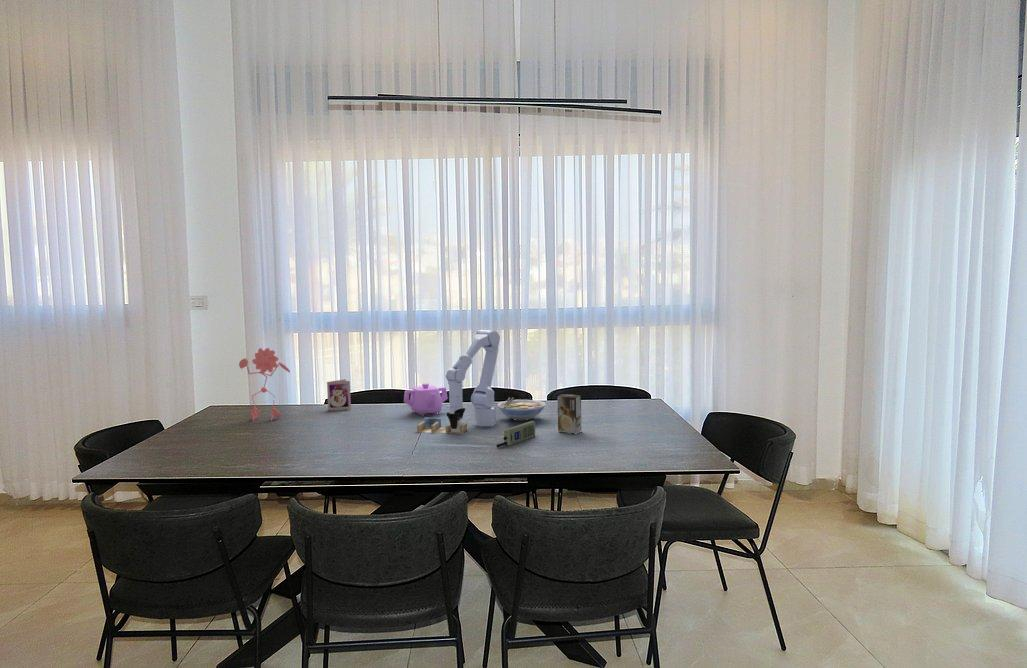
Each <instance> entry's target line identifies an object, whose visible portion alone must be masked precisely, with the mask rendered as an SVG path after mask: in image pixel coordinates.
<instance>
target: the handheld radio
mask: <svg viewBox="0 0 1027 668" xmlns="http://www.w3.org/2000/svg"><path fill="white" fill-rule="evenodd" d="M502 431H503V442H501V443H498V444H496V449H497V448H498V449H499V448H501V447H505V446H506V445H510V446H512V445H511V444H513V445H515V444H518V443H520V442H519V441H521V442H523V441H522V440H524V441H525V439H526V440H528V439H527V438H529V439H531V438H530V437H532V436H535V437H536V422H535V420H531V421H527V422H524V423H521V424H518V425H514V426H512V427H508V428H506V429H502ZM532 438H533V437H532ZM517 442H518V443H517ZM514 443H515V444H514Z"/></svg>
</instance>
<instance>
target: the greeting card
mask: <svg viewBox="0 0 1027 668" xmlns="http://www.w3.org/2000/svg"><path fill="white" fill-rule="evenodd" d="M346 379H347V378H346ZM346 379H339V380H337V379H336V380H331V381H326V390H327V391H326V393H327V411H329V410H330V411H343V410H345V409H347V410H351V409H352V407H351V406H352V405H351V404H352V403H351V380H346ZM330 411H329V412H330ZM345 411H346V410H345Z"/></svg>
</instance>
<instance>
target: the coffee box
mask: <svg viewBox="0 0 1027 668" xmlns="http://www.w3.org/2000/svg"><path fill="white" fill-rule="evenodd" d="M556 398H557V403H556V404H557V432H558V431H559V432H558V433H560V432H568V433H567V434H571V433H578V432H580V431H581V430H582V429H583V428H582V395H579V394H567V393H562V394H559V395H558V396H557V397H556ZM582 431H583V430H582ZM582 431H581V432H582ZM581 432H580V433H581ZM578 434H579V433H578Z"/></svg>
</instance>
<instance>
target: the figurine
mask: <svg viewBox="0 0 1027 668" xmlns="http://www.w3.org/2000/svg"><path fill="white" fill-rule="evenodd" d="M270 349H271V348H269V347H266V348H265V349H264V350H263V348H262V347H259V348H258V350H257V352H255V353H254V358H253V359H252V360H251V361H252V363H253V364H254V365H255V369H256V370H260V371H257V372H250V370H249V365H248V364H249V361H248V359H247V358H246V357H245V358H242V359H241V360H240V361H239V363H238V366H239V369H240V370H242V369H244V368H245V367H246V369H247V370H246V371H247V373H248V375H254V374H261V375H263V376H264V377H265V380H264V384H263V385H264V386H262V387H261V389H260V391H258V392H256V393H255V394H253V395H251V399H252V403H253V408H252V409H251V411H250V414H251V417H252V422H254V421H255V420H256V418H258V417H259V416H260V415H259V414H260V410H259V408H257V407H256V406H255V401H254V396H256V395H257V394H259V393H266V392H267V393H269V394H270V395H272V396H273V397H275V395H274V393H272V392H270V391H269V390H268V389H267V387H266V383H267V380H268V377H272V376H273V375H274V372H275V371H276V370H277V369H278V367H281V368H282V369H283V370H285V371H286V372H287V373H289V374H290V373H291V370H290V369H289V368H288V367H287V366H286V365H285V364H283V363H282V362H278V361H279V357H278V356H277V355H275V354H276V352H275V350H273V349H272V350H270ZM277 362H278V364H277ZM266 372H268V373H270V374H268V373H266ZM272 402H273V405H272V406H273V407H272V408H270V412H271V418H270V421H271V422H273V417H274V416H275V417H276V418H278V419H281V417H282V416H281V415H282V414H281V413H280V411H279V410H277V408H275V401H272ZM283 421H285V419H284V420H283Z"/></svg>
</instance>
